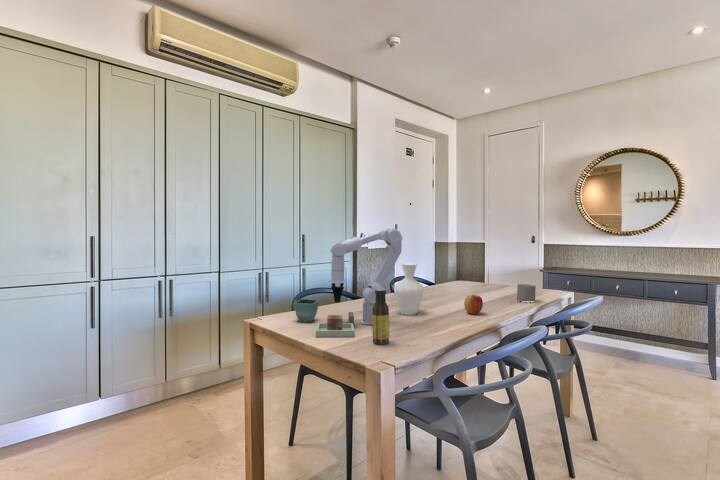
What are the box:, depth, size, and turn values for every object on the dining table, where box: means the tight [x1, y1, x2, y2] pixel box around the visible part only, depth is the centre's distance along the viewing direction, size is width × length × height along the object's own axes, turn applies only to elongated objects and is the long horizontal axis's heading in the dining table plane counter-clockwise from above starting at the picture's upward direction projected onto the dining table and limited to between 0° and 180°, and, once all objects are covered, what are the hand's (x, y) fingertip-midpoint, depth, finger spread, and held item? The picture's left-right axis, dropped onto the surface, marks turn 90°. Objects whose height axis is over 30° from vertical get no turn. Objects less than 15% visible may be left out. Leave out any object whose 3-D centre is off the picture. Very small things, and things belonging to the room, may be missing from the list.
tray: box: [315, 322, 355, 338], centre depth 151 cm, size 15×12×2 cm
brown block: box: [326, 314, 343, 330], centre depth 151 cm, size 6×6×6 cm
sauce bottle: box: [372, 288, 390, 345], centre depth 139 cm, size 6×6×20 cm
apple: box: [463, 294, 484, 315], centre depth 188 cm, size 9×9×10 cm
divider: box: [347, 311, 355, 327], centre depth 162 cm, size 2×8×5 cm, turn 4°
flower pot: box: [294, 298, 320, 323], centre depth 170 cm, size 9×9×9 cm
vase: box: [394, 262, 424, 316], centre depth 187 cm, size 14×14×25 cm
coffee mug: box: [516, 283, 536, 302], centre depth 223 cm, size 13×10×10 cm
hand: (337, 300), depth 164 cm, fingers open, 7 cm apart
